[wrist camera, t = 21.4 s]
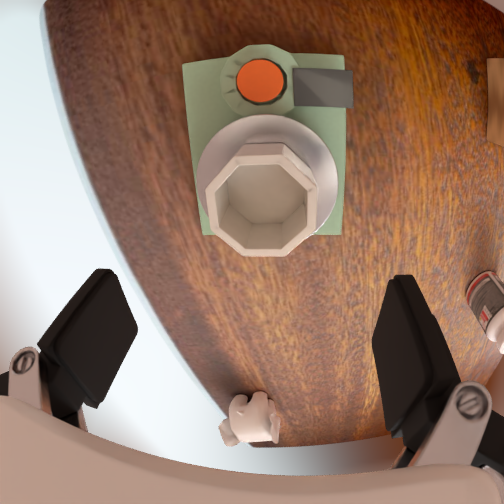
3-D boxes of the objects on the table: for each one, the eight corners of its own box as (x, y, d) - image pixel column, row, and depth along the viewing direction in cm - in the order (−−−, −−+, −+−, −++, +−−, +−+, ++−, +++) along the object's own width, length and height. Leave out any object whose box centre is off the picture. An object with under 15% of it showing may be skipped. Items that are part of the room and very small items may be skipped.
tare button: (239, 63, 18) (235, 61, 16) (282, 61, 17) (281, 58, 16) (241, 103, 19) (238, 103, 18) (284, 101, 19) (284, 101, 17)
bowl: (217, 145, 20) (200, 158, 16) (311, 142, 19) (317, 154, 15) (226, 227, 23) (214, 256, 20) (310, 227, 22) (314, 256, 19)
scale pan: (188, 77, 18) (183, 76, 17) (351, 70, 17) (355, 69, 16) (208, 243, 26) (205, 249, 25) (346, 243, 24) (348, 249, 23)
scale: (186, 59, 20) (174, 55, 17) (340, 51, 18) (347, 45, 16) (206, 228, 28) (197, 243, 26) (338, 228, 27) (343, 243, 24)
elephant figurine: (249, 418, 49) (243, 458, 41) (216, 389, 44) (205, 434, 36) (295, 412, 45) (293, 454, 38) (267, 380, 40) (262, 431, 33)
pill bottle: (461, 307, 30) (489, 362, 21) (469, 274, 27) (506, 329, 19) (491, 299, 29) (521, 348, 20) (500, 265, 26) (538, 315, 17)
